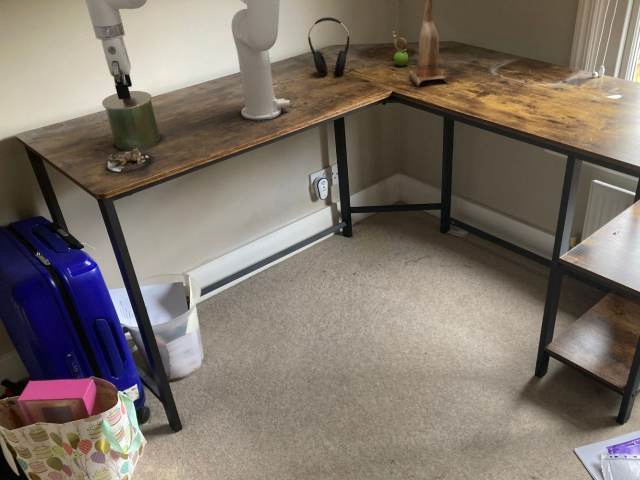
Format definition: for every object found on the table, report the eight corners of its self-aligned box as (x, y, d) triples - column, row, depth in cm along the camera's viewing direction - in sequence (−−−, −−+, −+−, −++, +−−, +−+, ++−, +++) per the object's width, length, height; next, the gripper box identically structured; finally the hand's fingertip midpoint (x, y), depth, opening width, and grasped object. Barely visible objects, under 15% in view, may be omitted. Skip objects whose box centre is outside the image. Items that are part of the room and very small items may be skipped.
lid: (152, 92, 193) (147, 72, 189) (151, 108, 182) (146, 87, 179) (104, 97, 190) (99, 76, 186) (101, 114, 180) (94, 93, 176)
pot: (160, 130, 199) (150, 91, 192) (159, 147, 190) (149, 106, 182) (117, 135, 197) (106, 95, 189) (114, 153, 187) (102, 111, 180)
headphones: (351, 77, 235) (348, 20, 223) (310, 78, 235) (305, 21, 223) (351, 70, 242) (348, 13, 230) (311, 71, 242) (307, 14, 230)
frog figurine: (121, 176, 175) (117, 163, 173) (98, 163, 182) (94, 151, 179) (157, 162, 182) (154, 149, 180) (135, 150, 188) (131, 138, 186)
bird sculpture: (436, 73, 237) (439, -22, 218) (449, 83, 228) (453, -14, 209) (407, 77, 235) (408, -19, 215) (419, 87, 226) (420, -11, 206)
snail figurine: (397, 61, 248) (397, 29, 241) (411, 64, 245) (411, 32, 238) (389, 65, 245) (388, 33, 238) (402, 68, 242) (402, 35, 235)
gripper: (121, 38, 168) (138, 102, 178) (125, 20, 182) (140, 81, 192) (91, 40, 167) (109, 105, 177) (97, 23, 180) (113, 84, 190)
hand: (125, 92), depth 184 cm, fingers open, 9 cm apart
